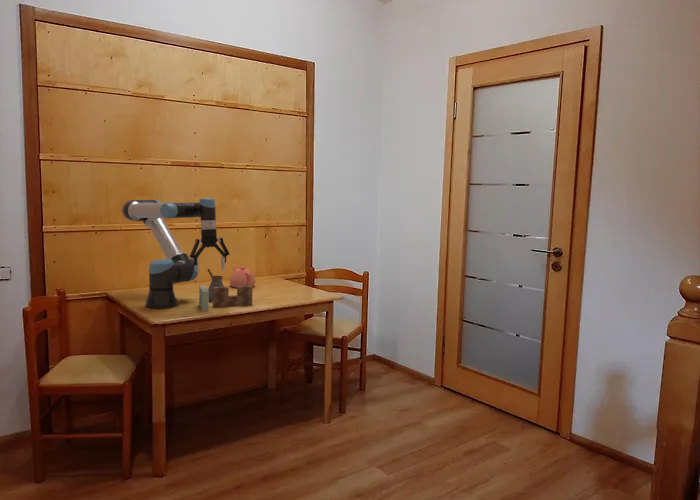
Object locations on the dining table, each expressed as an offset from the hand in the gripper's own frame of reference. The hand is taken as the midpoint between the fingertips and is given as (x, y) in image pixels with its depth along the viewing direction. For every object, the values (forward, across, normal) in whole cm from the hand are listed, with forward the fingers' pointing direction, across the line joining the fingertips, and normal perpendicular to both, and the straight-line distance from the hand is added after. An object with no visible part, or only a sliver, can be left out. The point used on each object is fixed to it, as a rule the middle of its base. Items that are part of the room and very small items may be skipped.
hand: (210, 270), depth 268 cm
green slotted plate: (+19, -3, +3) cm, 20 cm away
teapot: (+17, +38, +45) cm, 61 cm away
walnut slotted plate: (+20, +12, +2) cm, 23 cm away
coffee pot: (+18, +10, +23) cm, 31 cm away
